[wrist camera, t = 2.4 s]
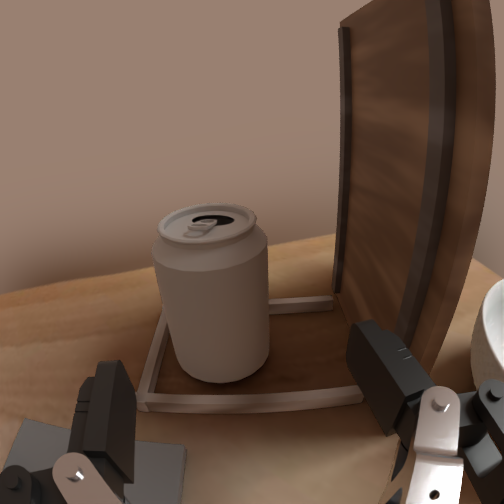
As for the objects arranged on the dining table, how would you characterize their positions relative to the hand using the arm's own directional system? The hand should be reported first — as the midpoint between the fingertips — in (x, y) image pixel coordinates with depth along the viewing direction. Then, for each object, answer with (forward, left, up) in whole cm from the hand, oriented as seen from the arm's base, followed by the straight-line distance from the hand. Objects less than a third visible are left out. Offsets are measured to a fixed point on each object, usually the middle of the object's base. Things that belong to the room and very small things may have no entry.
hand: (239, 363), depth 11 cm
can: (-2, +11, -11) cm, 16 cm away
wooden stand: (0, +11, -11) cm, 16 cm away
